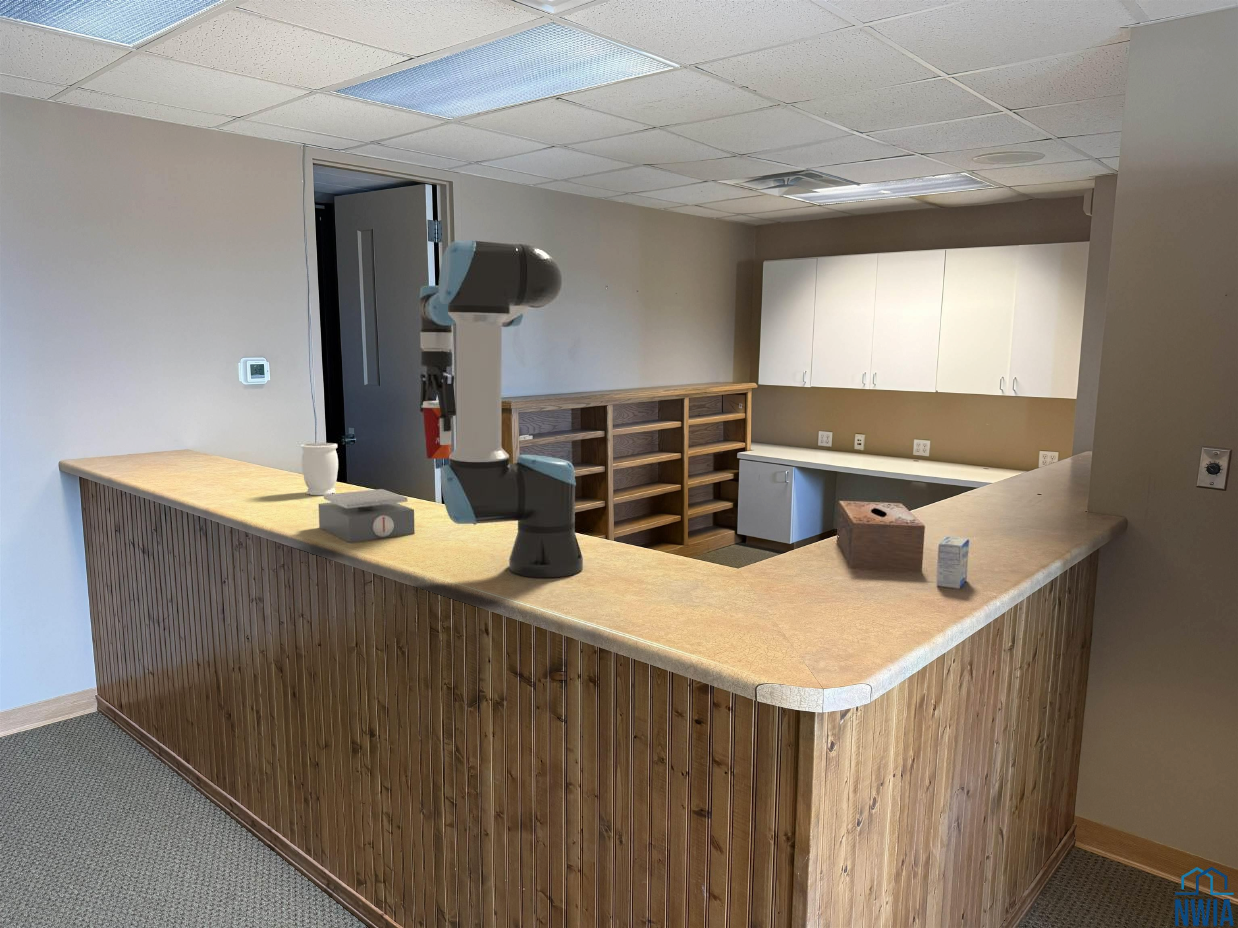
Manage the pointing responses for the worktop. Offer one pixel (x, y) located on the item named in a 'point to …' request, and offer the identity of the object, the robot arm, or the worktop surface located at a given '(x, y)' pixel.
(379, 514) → the scale base
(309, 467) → the jar
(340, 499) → the scale pan
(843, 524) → the tissue box cover
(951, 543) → the medicine box
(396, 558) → the worktop surface
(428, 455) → the paper cup
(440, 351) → the robot arm
